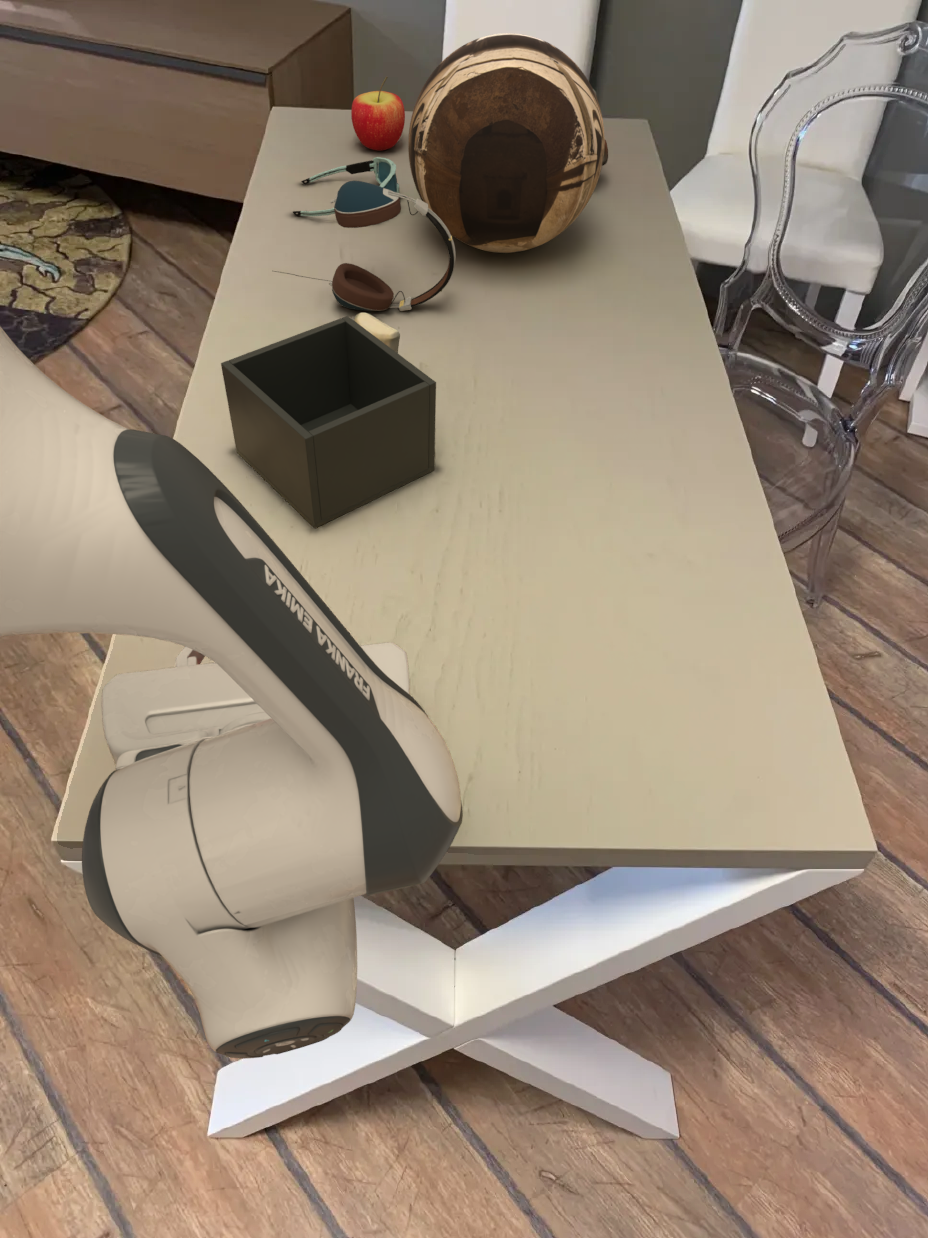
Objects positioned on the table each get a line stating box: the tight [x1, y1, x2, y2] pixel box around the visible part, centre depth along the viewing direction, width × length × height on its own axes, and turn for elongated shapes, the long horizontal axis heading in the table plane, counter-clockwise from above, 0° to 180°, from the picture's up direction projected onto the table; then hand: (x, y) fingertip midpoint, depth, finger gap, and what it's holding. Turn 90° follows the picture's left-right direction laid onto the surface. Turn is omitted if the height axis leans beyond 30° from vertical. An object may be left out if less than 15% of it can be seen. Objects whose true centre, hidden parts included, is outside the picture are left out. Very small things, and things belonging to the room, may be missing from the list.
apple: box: [350, 76, 406, 152], centre depth 146 cm, size 8×8×10 cm
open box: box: [220, 315, 437, 529], centre depth 93 cm, size 15×15×11 cm
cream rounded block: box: [353, 312, 401, 354], centre depth 103 cm, size 6×5×8 cm
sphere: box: [407, 32, 606, 254], centre depth 121 cm, size 25×25×25 cm
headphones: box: [273, 180, 456, 312], centre depth 112 cm, size 6×15×22 cm
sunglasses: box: [292, 156, 400, 217], centre depth 135 cm, size 14×15×5 cm
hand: (256, 621), depth 68 cm, fingers closed on beverage can, 6 cm apart
